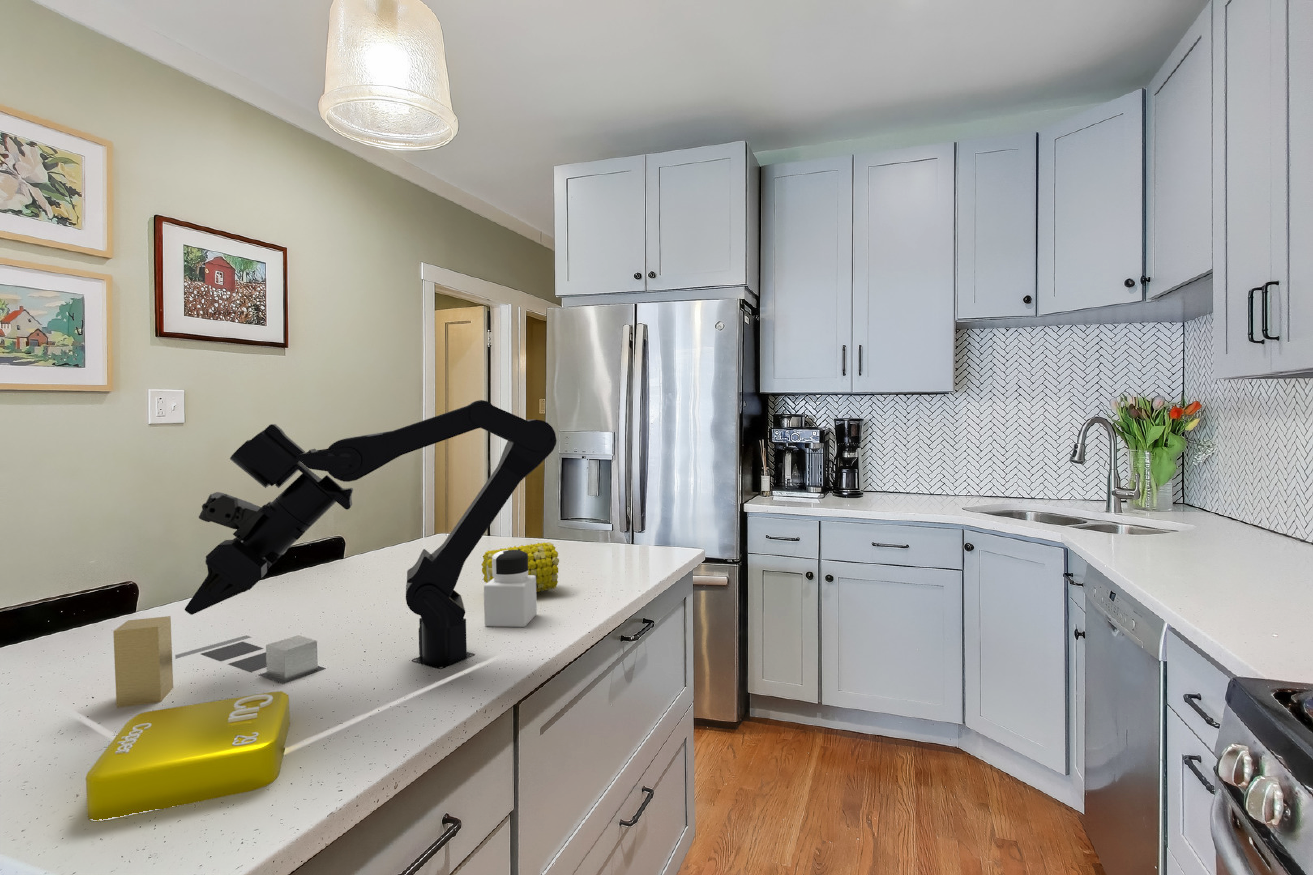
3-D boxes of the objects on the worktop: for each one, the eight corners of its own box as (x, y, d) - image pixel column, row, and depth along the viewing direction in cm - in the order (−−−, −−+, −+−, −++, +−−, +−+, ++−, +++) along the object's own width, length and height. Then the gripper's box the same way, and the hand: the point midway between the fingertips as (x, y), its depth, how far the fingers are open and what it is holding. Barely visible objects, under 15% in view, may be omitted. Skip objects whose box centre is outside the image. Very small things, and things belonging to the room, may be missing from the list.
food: (478, 606, 123) (476, 552, 123) (483, 589, 135) (482, 540, 134) (560, 601, 126) (559, 548, 125) (558, 585, 137) (558, 537, 137)
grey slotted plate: (343, 669, 93) (343, 664, 93) (271, 695, 84) (271, 690, 84) (246, 638, 106) (246, 634, 106) (175, 658, 98) (175, 654, 98)
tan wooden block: (173, 692, 86) (170, 615, 85) (161, 706, 82) (158, 626, 81) (131, 697, 84) (128, 620, 84) (116, 712, 80) (113, 630, 80)
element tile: (134, 751, 71) (132, 708, 71) (292, 724, 77) (290, 683, 77) (79, 831, 58) (76, 777, 57) (276, 789, 64) (274, 741, 63)
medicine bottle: (537, 614, 117) (535, 547, 117) (525, 627, 110) (523, 556, 110) (498, 613, 118) (496, 547, 118) (483, 626, 111) (482, 555, 110)
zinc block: (317, 669, 91) (316, 640, 91) (285, 680, 87) (284, 650, 87) (299, 663, 94) (298, 635, 94) (266, 673, 90) (265, 644, 90)
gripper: (259, 465, 95) (169, 548, 91) (225, 476, 77) (112, 578, 74) (321, 517, 98) (237, 598, 94) (302, 538, 80) (197, 639, 77)
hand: (199, 602), depth 85 cm, fingers open, 9 cm apart
